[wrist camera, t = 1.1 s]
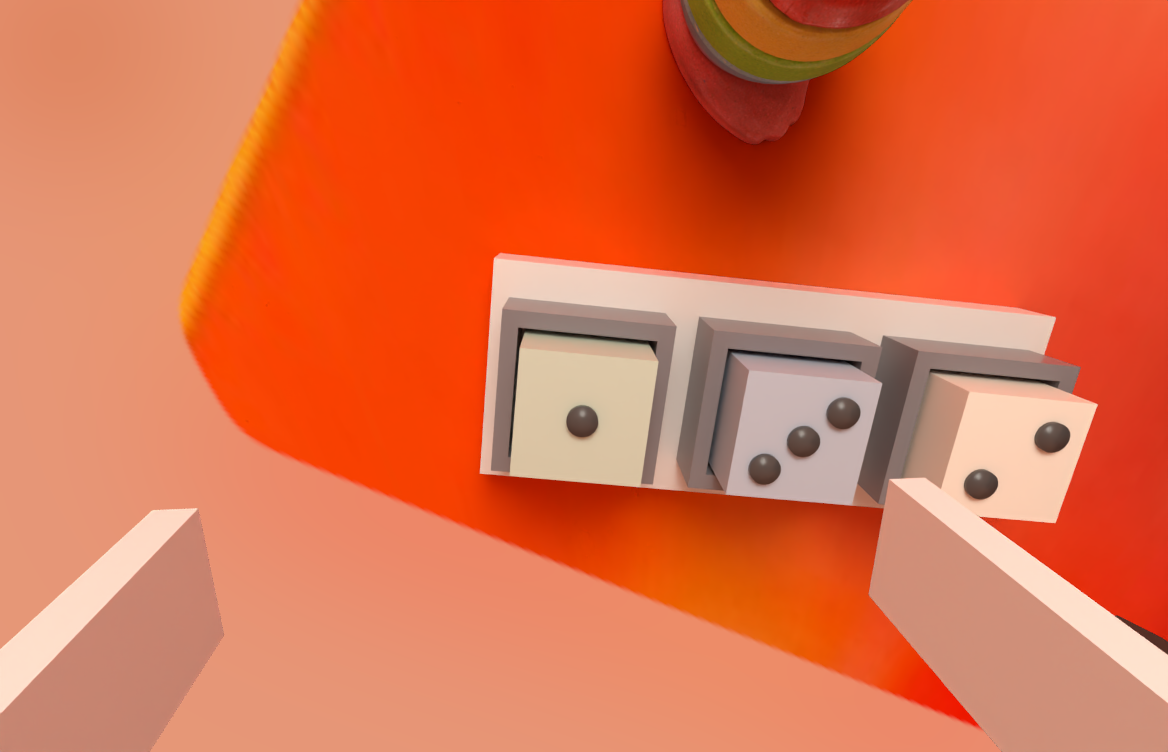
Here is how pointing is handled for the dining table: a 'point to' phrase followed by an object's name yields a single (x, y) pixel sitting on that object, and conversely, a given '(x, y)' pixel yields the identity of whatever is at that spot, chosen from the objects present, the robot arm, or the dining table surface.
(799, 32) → the stacking bear
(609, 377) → the button one dot
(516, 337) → the button panel
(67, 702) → the robot arm
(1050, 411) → the button two dot
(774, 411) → the button three dot
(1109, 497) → the dining table surface
